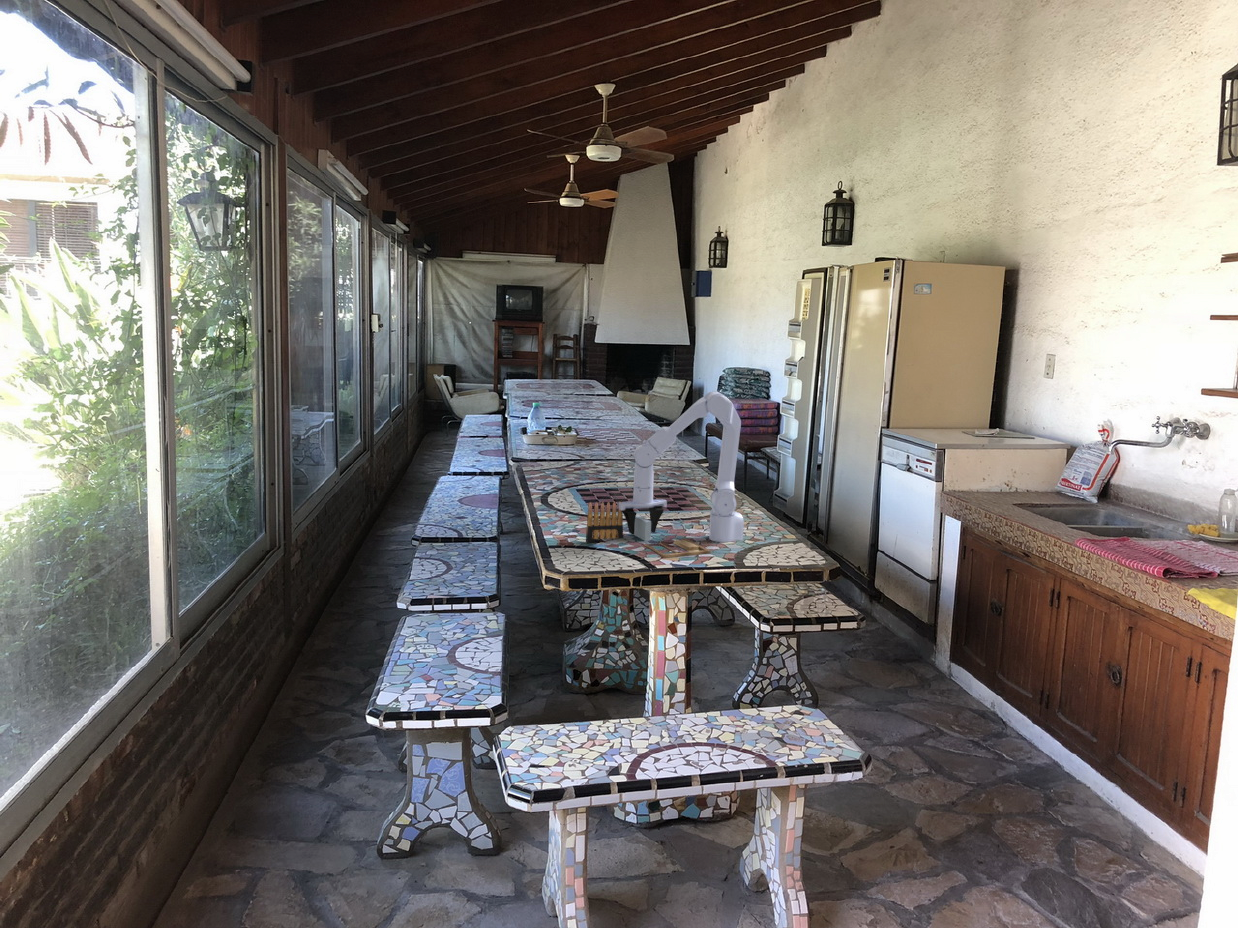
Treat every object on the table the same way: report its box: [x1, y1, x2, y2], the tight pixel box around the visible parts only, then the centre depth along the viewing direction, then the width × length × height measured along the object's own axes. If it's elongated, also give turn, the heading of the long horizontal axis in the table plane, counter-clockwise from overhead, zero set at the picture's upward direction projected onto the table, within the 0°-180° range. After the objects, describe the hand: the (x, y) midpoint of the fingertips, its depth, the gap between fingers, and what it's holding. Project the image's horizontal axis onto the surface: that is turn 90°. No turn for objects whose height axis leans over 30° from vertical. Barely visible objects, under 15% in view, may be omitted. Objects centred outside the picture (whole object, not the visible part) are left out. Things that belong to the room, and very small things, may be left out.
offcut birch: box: [680, 547, 701, 552], centre depth 243 cm, size 3×10×1 cm, turn 24°
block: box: [632, 514, 652, 542], centre depth 251 cm, size 2×8×7 cm, turn 24°
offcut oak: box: [673, 539, 699, 552], centre depth 243 cm, size 3×8×1 cm, turn 28°
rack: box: [643, 538, 711, 559], centre depth 240 cm, size 14×14×2 cm
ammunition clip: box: [585, 501, 624, 545], centre depth 249 cm, size 11×2×12 cm, turn 103°
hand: (642, 532), depth 251 cm, fingers open, 6 cm apart
